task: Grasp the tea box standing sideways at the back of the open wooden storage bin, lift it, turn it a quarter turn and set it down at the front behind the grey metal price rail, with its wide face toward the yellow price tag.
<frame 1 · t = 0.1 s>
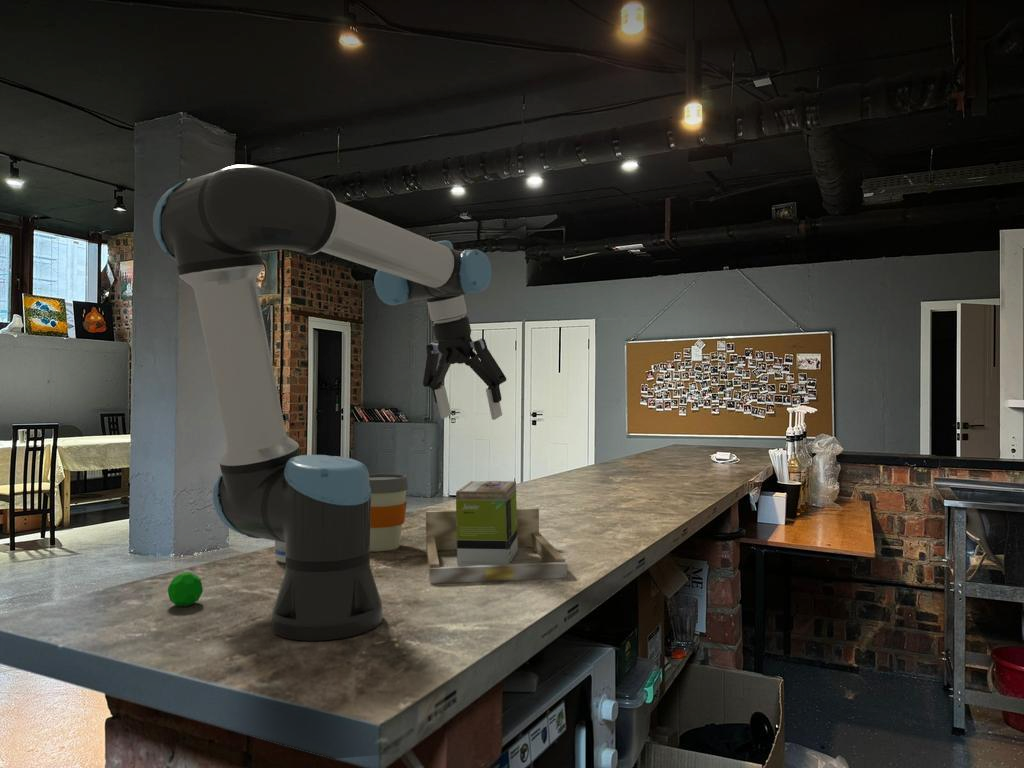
hand: (471, 417, 148), 28 cm above the bar counter, tool tilted 20°, fingers open, 13 cm apart
supplement tub: (300, 560, 140), on the bar counter
open wooden storage bin: (490, 562, 136), on the bar counter
tea box: (488, 560, 139), resting in open wooden storage bin
reusable coffee cup: (378, 547, 151), on the bar counter
polyhedron: (185, 606, 109), on the bar counter
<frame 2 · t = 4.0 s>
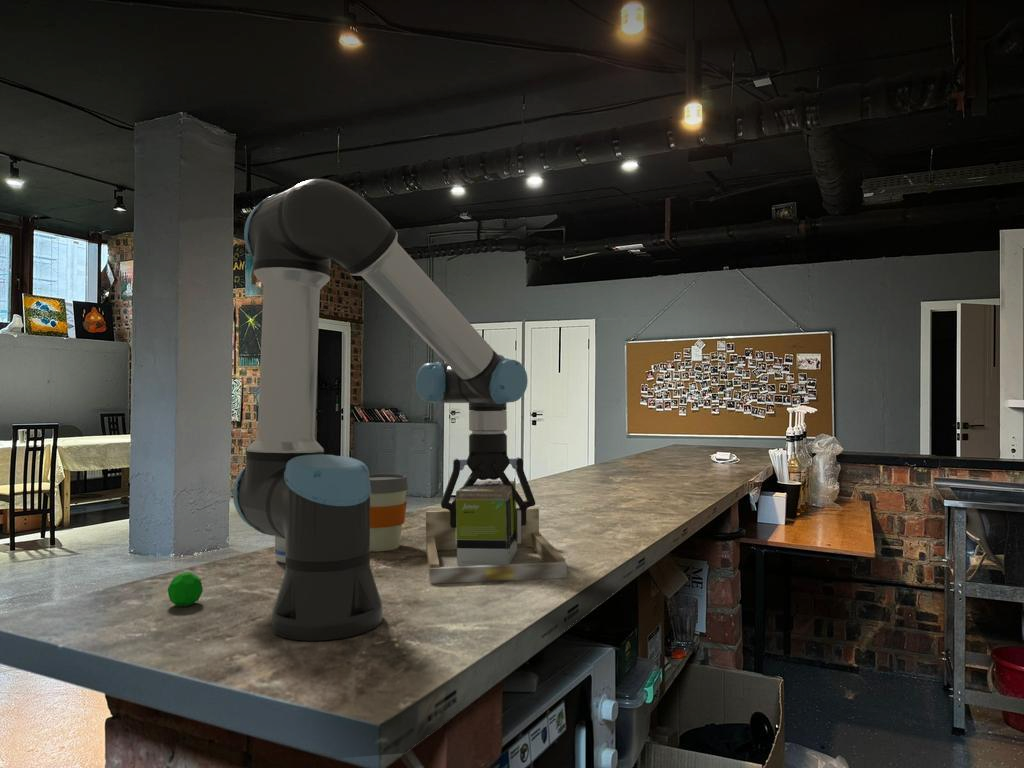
hand: (488, 543, 139), 3 cm above the bar counter, tool pointing down, fingers closed on tea box, 11 cm apart
tea box: (488, 560, 139), resting in open wooden storage bin, touching gripper
everything else where it was.
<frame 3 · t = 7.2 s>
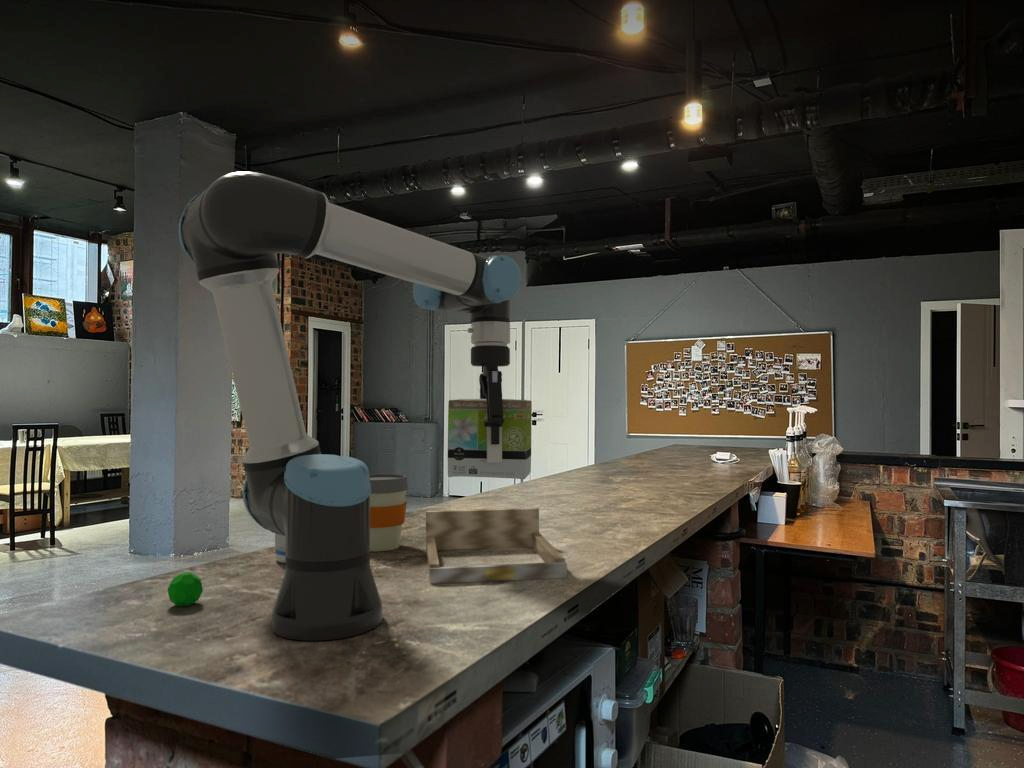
hand: (490, 459, 135), 20 cm above the bar counter, tool pointing down, fingers closed on tea box, 11 cm apart
tea box: (490, 477, 135), point 17 cm above the bar counter, touching gripper
everything else where it was.
when the fingers open (5 cm above the bar counter, at t = 10.4 s): tea box drops 1 cm, resting in open wooden storage bin.
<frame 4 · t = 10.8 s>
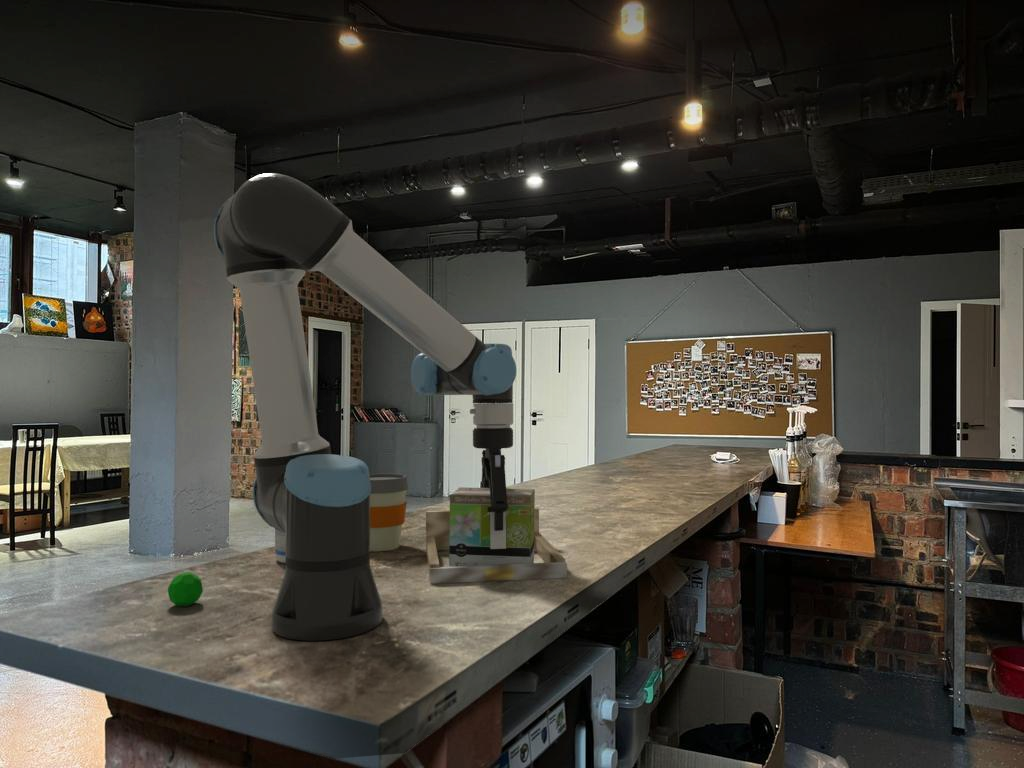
hand: (493, 540, 131), 5 cm above the bar counter, tool pointing down, fingers open, 13 cm apart
tea box: (493, 570, 131), resting in open wooden storage bin
everything else where it was.
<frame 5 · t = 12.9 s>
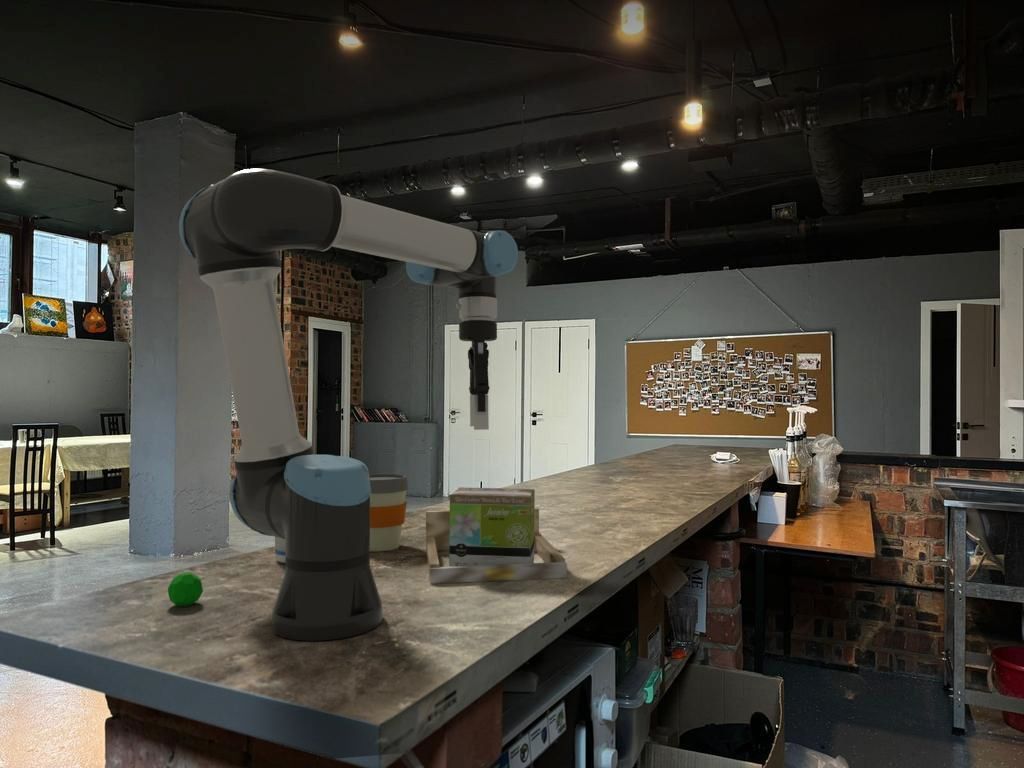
hand: (478, 428, 139), 26 cm above the bar counter, tool pointing down, fingers open, 13 cm apart
nothing on the bar counter moved.
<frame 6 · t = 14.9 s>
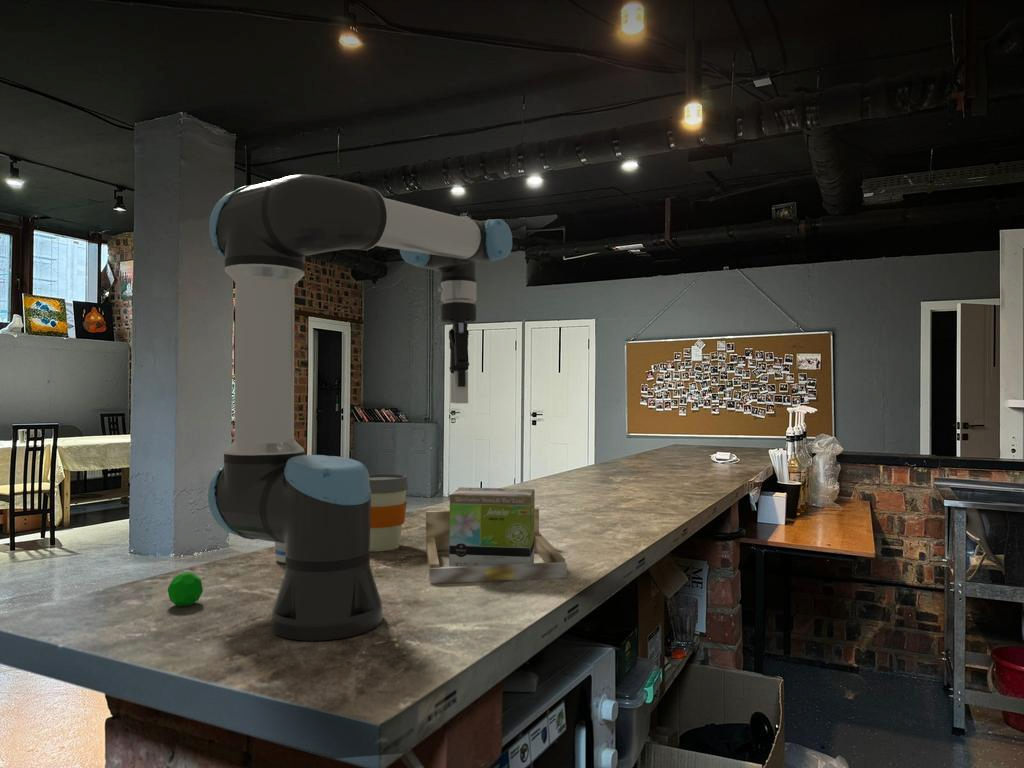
hand: (458, 403, 149), 31 cm above the bar counter, tool pointing down, fingers open, 13 cm apart
nothing on the bar counter moved.
at the end: tea box 0.3 cm from the target spot, resting in open wooden storage bin; tea box tilted 0°; the gripper is holding nothing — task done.
